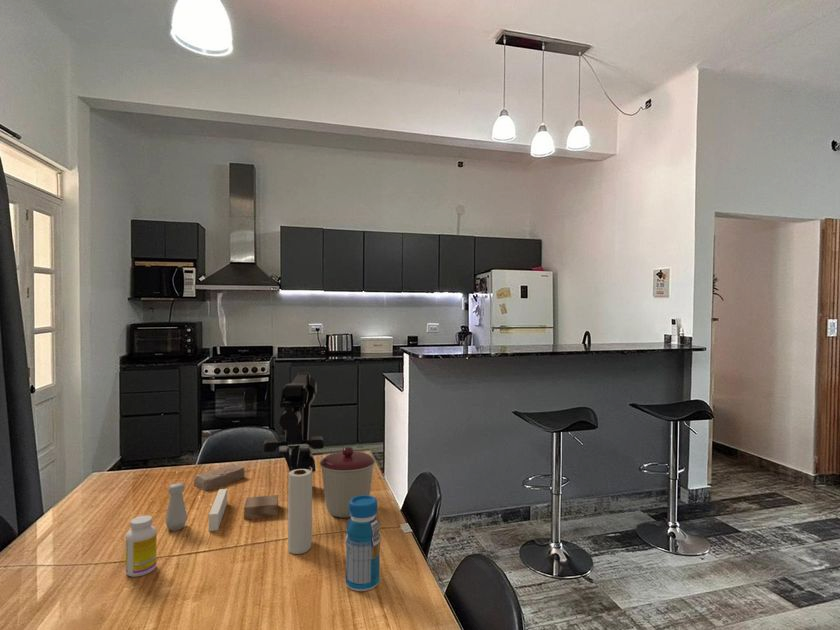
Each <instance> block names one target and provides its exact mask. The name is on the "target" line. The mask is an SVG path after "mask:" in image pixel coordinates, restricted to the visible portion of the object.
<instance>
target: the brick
mask: <svg viewBox="0 0 840 630" xmlns="http://www.w3.org/2000/svg"><path fill="white" fill-rule="evenodd" d="M245 473H246V472H245V467H244V466H242V465H239V464H234V463H230V464H226V465H224V466H221V467H219V468H216V469H212V470H207V471H203V472H202V473H197V474H196V475H195V477H194V479H193V482H194V483H193V484H194V486H193V487H196V488H198V489H200V490H202V491H209V490H212V489H214V488H218V487H222V486H224V485H227V484H229V483H233V482H236V481H239V480H242V479H243V478H244V477H245Z"/></svg>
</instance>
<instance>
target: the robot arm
mask: <svg viewBox="0 0 840 630" xmlns="http://www.w3.org/2000/svg"><path fill="white" fill-rule="evenodd" d="M317 387H318V385H317V381H316V379H315V378H313V377H312V376H311V373H309V372H297V373H295V377H294V380H292V382H291V383H286V384H285V385H284V387H282V390H281V396H280V402H279V403H280V404H279V408H280V409H284V412H283V413H282V415H280V417H279V425H280V436H281V437H284V441H283V440H282V441H278V438H267V439H265V440H264V441H263V442H264V444H263V452H264V453H272V452H273V453H275V451H276V450H277V449H279V450H278V451H279V452H278V453H279V454H280V455H282V456H283V457H284V460H285V461H286V464H287V465H286V466H287V468H288V473H289V472H290V471H292V470H296V469H308V470H310V471H311V468H312V474H313V473H314V472H316V460H315V459H314V456H313V451H312V449H313V450H319V449H324V438H323V436H322V435H317V436H316V435H315V436H309V435H310V434H309V433H310V412H311V404H313V402H314V401H315V397H316V395H317V392H318V390H317V389H318V388H317ZM309 437H310V439H309ZM310 446H311V447H310ZM292 447H293V448H292ZM290 448H292V450H291V453H290ZM311 448H312V449H311Z"/></svg>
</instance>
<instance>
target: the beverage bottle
mask: <svg viewBox="0 0 840 630" xmlns="http://www.w3.org/2000/svg"><path fill="white" fill-rule="evenodd" d="M349 513H350V516H351V517H349V519H348V521H347V524H346V527H345V532H346V536H345V540H344V543H345V584H346V586H347V588H348V589H350V590H353V591H355V592H356V591H357V592H367V591H370V590H372V589H375V587H377V585H378V584H379V583H380V561H381V560H380V557H381V553H380V552H381V551H380V550H381V549H380V547H381V539H382V538H381V534H380V530H381V525H380V522H379V520H378V518H377V513H378V499H377V498H376V497H374V496H372V495H370V496H369V495H361V496H356V497H353V498H352V499H351V500H350V503H349Z"/></svg>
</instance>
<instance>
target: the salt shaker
mask: <svg viewBox="0 0 840 630" xmlns="http://www.w3.org/2000/svg"><path fill="white" fill-rule="evenodd" d="M185 489H186V488H185V484H184V483H182V482H177V483H176V482H175V483H173V484H170V485H169V486H168V494H170V496H169V501H168V508H167V510H166V515H165V516H166V517H165V521H164V522H165V525H166V527H167V529H168V530H169V531H172V532H175V531H180V530H181V529H183V528H184V527H185V525H186V522H187V520H188V515H187V510H186V509H187V508H186V505H185V500H184V496H183V493H184V491H185Z"/></svg>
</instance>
